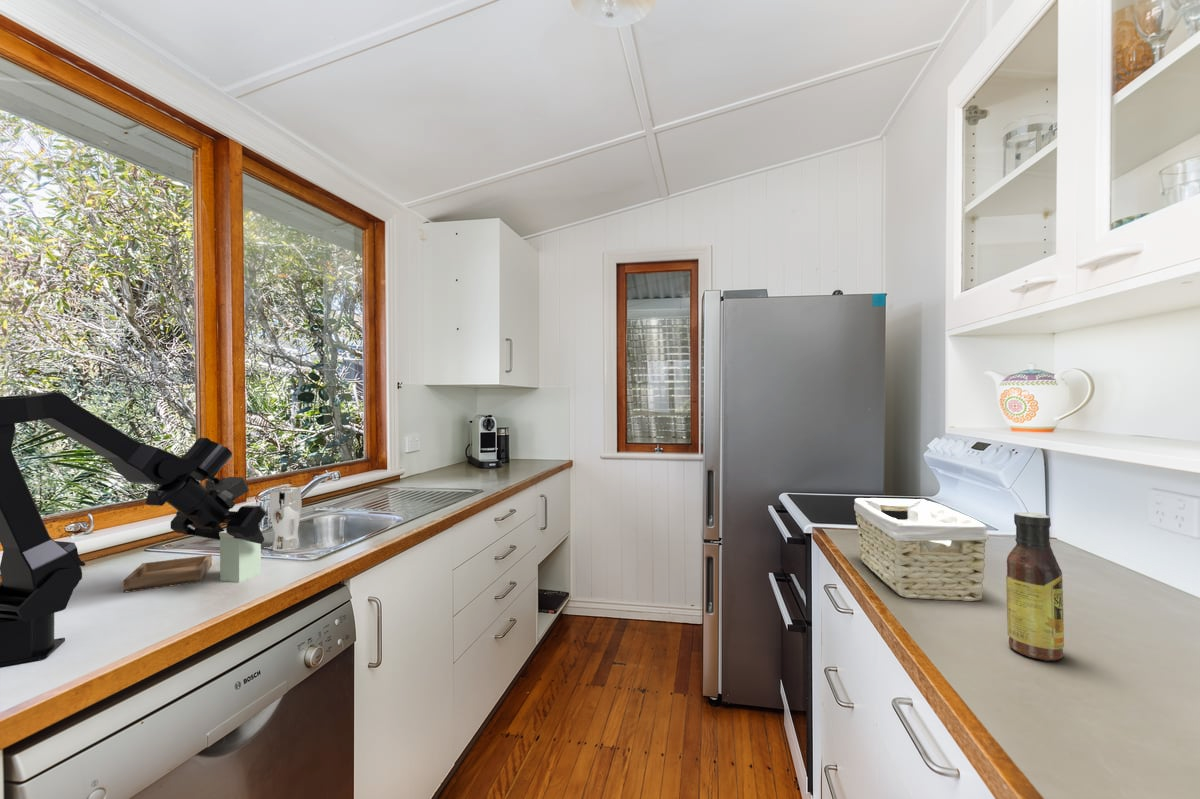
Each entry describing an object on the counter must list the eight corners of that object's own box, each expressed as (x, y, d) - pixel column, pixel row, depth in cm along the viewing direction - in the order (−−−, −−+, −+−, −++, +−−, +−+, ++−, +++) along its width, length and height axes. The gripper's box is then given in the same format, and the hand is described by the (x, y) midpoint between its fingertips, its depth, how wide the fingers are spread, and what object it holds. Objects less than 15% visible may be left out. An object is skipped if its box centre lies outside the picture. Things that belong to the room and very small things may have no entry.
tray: (200, 581, 105) (200, 570, 105) (123, 592, 99) (123, 580, 99) (211, 565, 115) (211, 554, 115) (142, 574, 109) (142, 563, 109)
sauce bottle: (1069, 667, 69) (1067, 522, 69) (1010, 655, 72) (1009, 516, 72) (1058, 647, 74) (1056, 513, 74) (1004, 637, 78) (1002, 508, 78)
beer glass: (286, 552, 125) (286, 492, 125) (262, 551, 126) (262, 491, 126) (308, 544, 132) (308, 487, 132) (285, 543, 133) (285, 486, 133)
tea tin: (239, 582, 104) (239, 533, 104) (219, 580, 105) (219, 532, 105) (261, 574, 109) (261, 527, 109) (242, 572, 110) (242, 526, 110)
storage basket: (994, 606, 90) (993, 523, 90) (895, 601, 92) (894, 520, 92) (928, 564, 113) (928, 498, 113) (851, 560, 116) (851, 496, 116)
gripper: (257, 466, 101) (302, 510, 111) (185, 464, 105) (235, 506, 116) (219, 515, 93) (271, 556, 104) (143, 510, 98) (201, 550, 108)
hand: (245, 540), depth 108 cm, fingers open, 9 cm apart
